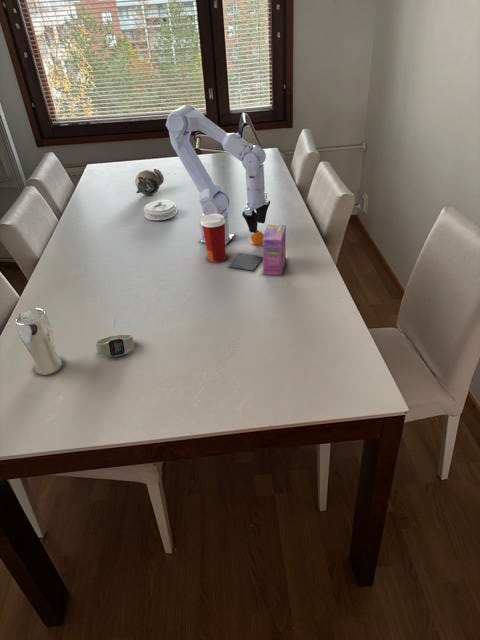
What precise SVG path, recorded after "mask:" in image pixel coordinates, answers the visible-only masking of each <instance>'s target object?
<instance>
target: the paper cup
mask: <svg viewBox="0 0 480 640" xmlns="http://www.w3.org/2000/svg"><path fill="white" fill-rule="evenodd" d="M225 222H226V220H225V219H224V217H223V216H222V215H220V214H209V215H206V216H204V217H203V218H202V221H201V222H200V221H199V224H200V223H201V225H202V227H203V232H204V238H205V249H206V253H207V258H208V261H209V262H211V263H222V262H223V261H225V260H226V245H225Z"/></svg>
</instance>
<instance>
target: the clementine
mask: <svg viewBox="0 0 480 640" xmlns="http://www.w3.org/2000/svg"><path fill="white" fill-rule="evenodd" d="M264 234H265V233H263V232H262V231H260V230H258V229H257V232H256V233H251V237H250V239H251V242H252V243H253V245H254V246H257V247H259V246H263V237H264Z"/></svg>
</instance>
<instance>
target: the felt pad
mask: <svg viewBox="0 0 480 640" xmlns="http://www.w3.org/2000/svg"><path fill="white" fill-rule="evenodd" d="M262 261H263V256H257V255H252V254H251V255H250V254H243V253H240V254H239V255H238V256H237V257H236V259H234V261H233V262H232V263H231V264H230V266H229V269H236V270H243V271H250V272H254V271H255V270H256V268H257V267H258V266H259V265H260V263H261V262H262Z"/></svg>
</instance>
